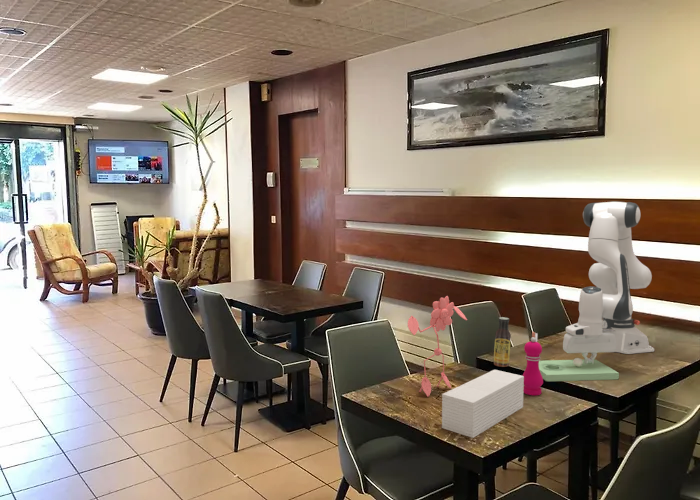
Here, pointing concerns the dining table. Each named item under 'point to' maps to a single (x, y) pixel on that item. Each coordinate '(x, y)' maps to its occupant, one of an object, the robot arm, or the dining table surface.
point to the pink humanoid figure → (438, 320)
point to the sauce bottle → (502, 344)
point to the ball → (577, 362)
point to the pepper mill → (532, 368)
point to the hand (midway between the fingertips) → (589, 363)
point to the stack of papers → (482, 402)
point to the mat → (574, 370)
